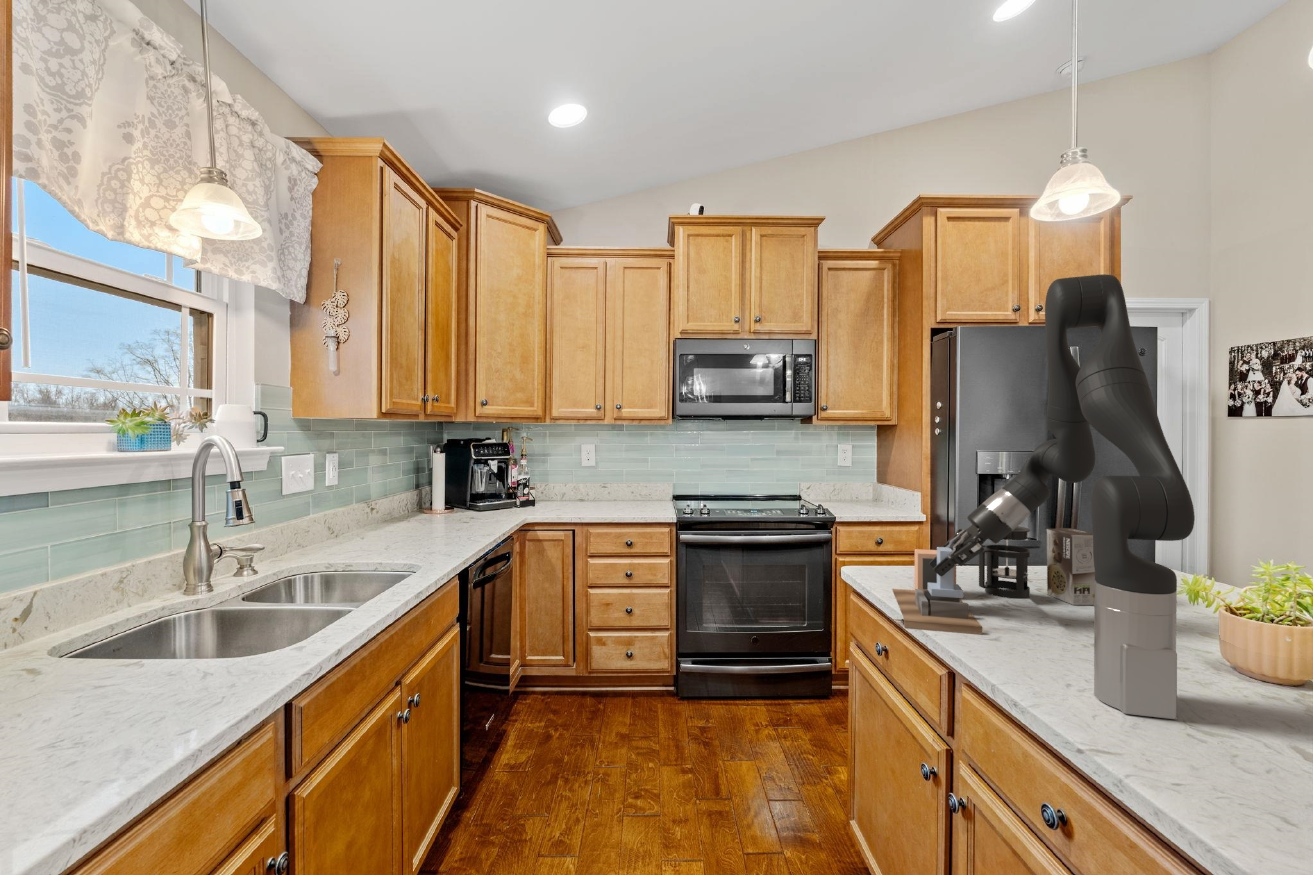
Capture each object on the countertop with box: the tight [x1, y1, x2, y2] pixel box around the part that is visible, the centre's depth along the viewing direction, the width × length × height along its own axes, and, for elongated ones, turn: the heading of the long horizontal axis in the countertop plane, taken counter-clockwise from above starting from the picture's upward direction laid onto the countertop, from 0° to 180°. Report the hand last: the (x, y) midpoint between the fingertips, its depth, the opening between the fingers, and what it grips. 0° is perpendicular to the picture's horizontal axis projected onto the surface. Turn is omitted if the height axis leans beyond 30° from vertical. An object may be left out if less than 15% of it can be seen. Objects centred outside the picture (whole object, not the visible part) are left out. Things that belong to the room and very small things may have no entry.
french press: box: [978, 525, 1031, 600], centre depth 135 cm, size 12×9×23 cm
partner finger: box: [914, 548, 957, 593], centre depth 133 cm, size 6×8×10 cm
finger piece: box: [928, 546, 964, 599], centre depth 122 cm, size 5×6×10 cm
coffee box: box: [1046, 527, 1095, 606], centre depth 134 cm, size 9×6×16 cm
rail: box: [891, 588, 983, 635], centre depth 126 cm, size 24×14×4 cm, turn 163°
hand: (934, 569), depth 123 cm, fingers closed on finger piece, 4 cm apart
